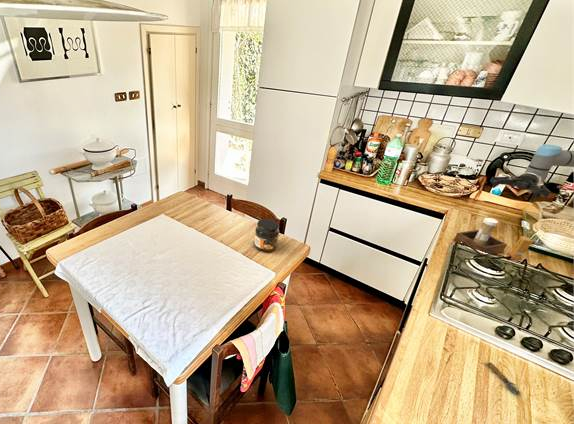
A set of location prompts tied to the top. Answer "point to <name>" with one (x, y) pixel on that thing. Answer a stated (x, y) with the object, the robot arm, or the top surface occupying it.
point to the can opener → (509, 384)
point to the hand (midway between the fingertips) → (513, 190)
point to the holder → (490, 246)
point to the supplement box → (520, 247)
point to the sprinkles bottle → (485, 231)
